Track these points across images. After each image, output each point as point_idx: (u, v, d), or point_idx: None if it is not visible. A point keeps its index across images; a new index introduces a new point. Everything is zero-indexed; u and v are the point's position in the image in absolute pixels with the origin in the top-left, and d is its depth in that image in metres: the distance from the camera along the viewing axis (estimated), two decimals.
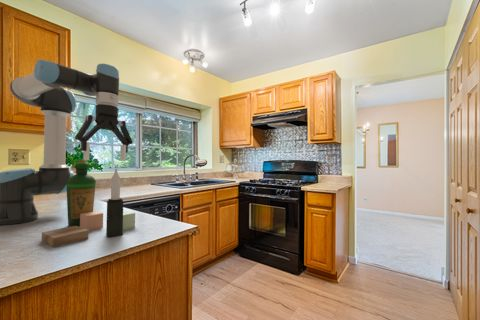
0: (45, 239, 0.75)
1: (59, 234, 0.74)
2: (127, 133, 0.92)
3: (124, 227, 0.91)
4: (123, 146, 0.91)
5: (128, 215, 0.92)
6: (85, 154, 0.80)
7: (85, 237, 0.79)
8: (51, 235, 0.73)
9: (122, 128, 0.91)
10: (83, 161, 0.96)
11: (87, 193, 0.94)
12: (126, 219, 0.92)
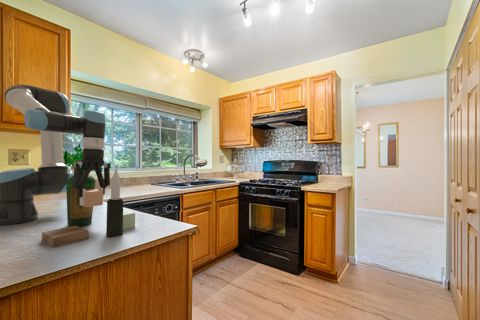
0: (45, 239, 0.75)
1: (59, 234, 0.74)
2: (108, 175, 0.97)
3: (124, 227, 0.91)
4: (100, 189, 0.95)
5: (128, 215, 0.92)
6: (81, 200, 0.89)
7: (85, 237, 0.79)
8: (51, 235, 0.73)
9: (105, 169, 0.97)
10: None
11: None
12: (126, 218, 0.92)
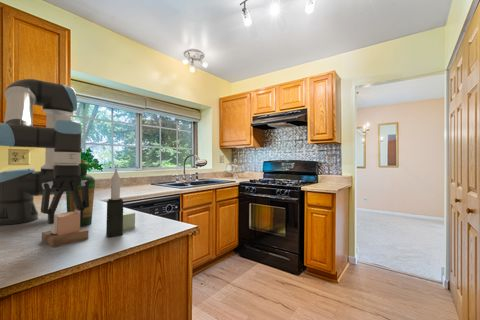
0: (45, 239, 0.75)
1: None
2: (86, 195, 0.82)
3: (124, 227, 0.91)
4: (77, 212, 0.80)
5: (128, 215, 0.92)
6: (52, 227, 0.75)
7: (85, 237, 0.79)
8: (51, 235, 0.73)
9: (83, 188, 0.82)
10: (83, 161, 0.96)
11: None
12: (126, 218, 0.92)
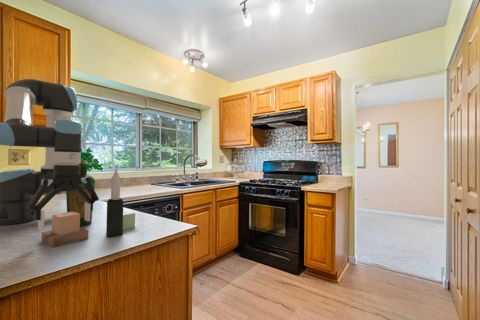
0: (45, 239, 0.75)
1: None
2: (92, 190, 0.84)
3: (124, 227, 0.91)
4: (87, 205, 0.83)
5: (128, 215, 0.92)
6: (39, 223, 0.72)
7: (85, 237, 0.79)
8: (51, 235, 0.73)
9: (86, 185, 0.83)
10: (83, 161, 0.96)
11: (86, 193, 0.94)
12: (126, 219, 0.92)
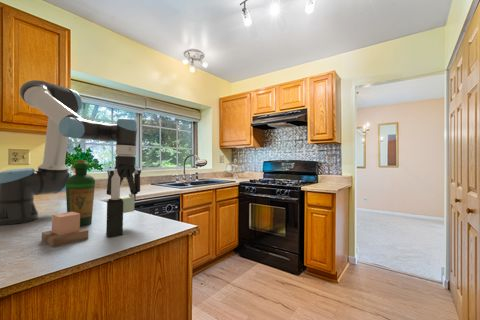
0: (45, 239, 0.75)
1: None
2: (138, 181, 0.98)
3: (123, 210, 0.91)
4: (131, 195, 0.96)
5: (127, 199, 0.93)
6: None
7: (85, 237, 0.79)
8: (51, 235, 0.73)
9: (136, 176, 0.98)
10: (83, 161, 0.96)
11: (86, 193, 0.94)
12: (126, 202, 0.92)
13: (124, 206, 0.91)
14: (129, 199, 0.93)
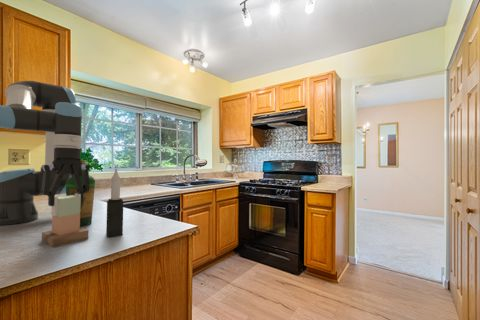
0: (45, 239, 0.75)
1: None
2: (87, 179, 0.82)
3: (64, 213, 0.75)
4: (77, 195, 0.80)
5: (70, 199, 0.76)
6: (53, 209, 0.75)
7: (85, 237, 0.79)
8: (51, 235, 0.73)
9: (83, 172, 0.82)
10: (83, 161, 0.96)
11: (86, 193, 0.94)
12: (67, 203, 0.76)
13: (65, 208, 0.75)
14: (72, 199, 0.77)
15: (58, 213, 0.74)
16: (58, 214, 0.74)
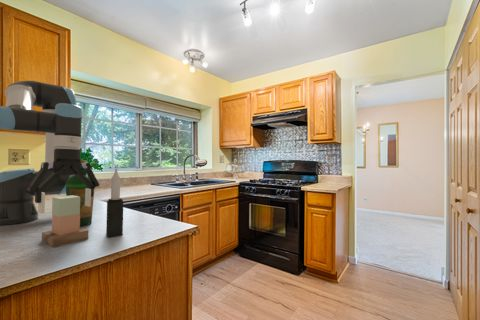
0: (45, 239, 0.75)
1: None
2: (92, 175, 0.84)
3: (64, 213, 0.75)
4: (88, 190, 0.83)
5: (70, 199, 0.76)
6: (40, 206, 0.72)
7: (85, 237, 0.79)
8: (51, 235, 0.73)
9: (87, 170, 0.83)
10: (83, 161, 0.96)
11: None
12: (67, 203, 0.76)
13: (65, 208, 0.75)
14: (72, 199, 0.77)
15: (58, 212, 0.74)
16: (58, 214, 0.74)
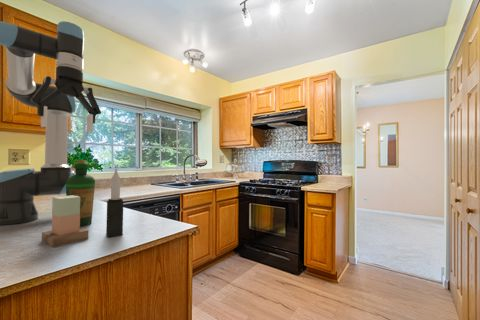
0: (45, 239, 0.75)
1: None
2: (94, 102, 0.84)
3: (64, 213, 0.75)
4: (90, 116, 0.83)
5: (70, 199, 0.76)
6: (42, 120, 0.72)
7: (85, 237, 0.79)
8: (51, 235, 0.73)
9: (88, 96, 0.83)
10: (83, 161, 0.96)
11: (86, 193, 0.94)
12: (67, 203, 0.76)
13: (65, 208, 0.75)
14: (72, 199, 0.77)
15: (58, 212, 0.74)
16: (58, 214, 0.74)
